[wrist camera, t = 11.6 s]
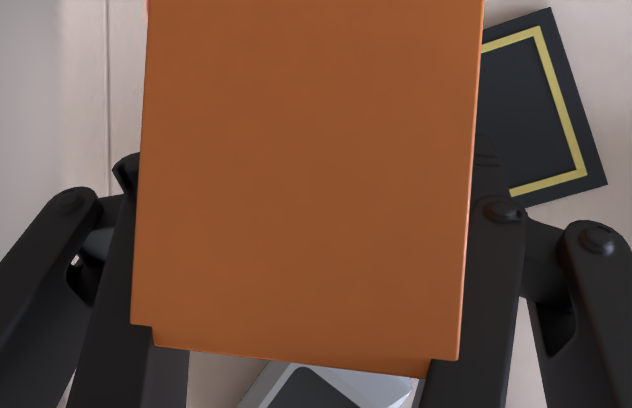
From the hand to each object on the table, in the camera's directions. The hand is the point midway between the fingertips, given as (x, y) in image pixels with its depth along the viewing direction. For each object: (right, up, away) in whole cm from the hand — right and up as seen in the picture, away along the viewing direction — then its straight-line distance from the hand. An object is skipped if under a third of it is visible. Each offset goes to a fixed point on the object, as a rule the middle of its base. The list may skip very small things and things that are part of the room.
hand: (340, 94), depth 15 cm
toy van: (0, -2, +4) cm, 4 cm away
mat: (+9, +1, +15) cm, 18 cm away
